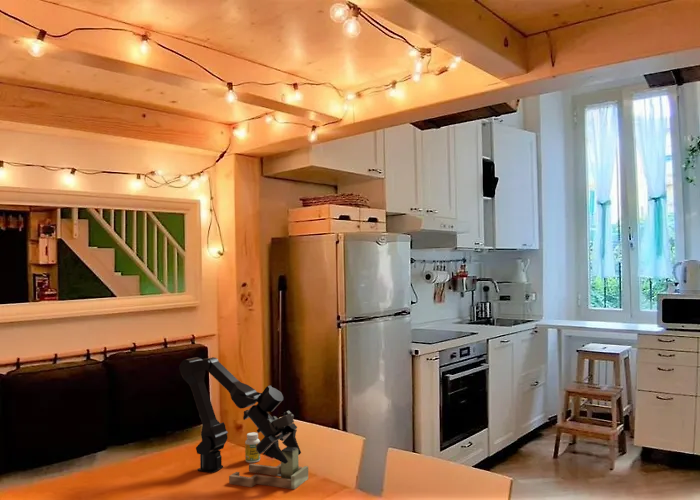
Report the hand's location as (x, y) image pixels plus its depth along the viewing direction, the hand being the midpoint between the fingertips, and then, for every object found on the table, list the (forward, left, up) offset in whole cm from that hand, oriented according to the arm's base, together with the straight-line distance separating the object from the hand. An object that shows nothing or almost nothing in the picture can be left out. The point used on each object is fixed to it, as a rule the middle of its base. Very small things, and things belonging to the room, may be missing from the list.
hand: (293, 458), depth 188 cm
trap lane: (-8, 0, -8) cm, 11 cm away
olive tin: (-1, 0, -8) cm, 8 cm away
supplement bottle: (-24, +14, -8) cm, 29 cm away
